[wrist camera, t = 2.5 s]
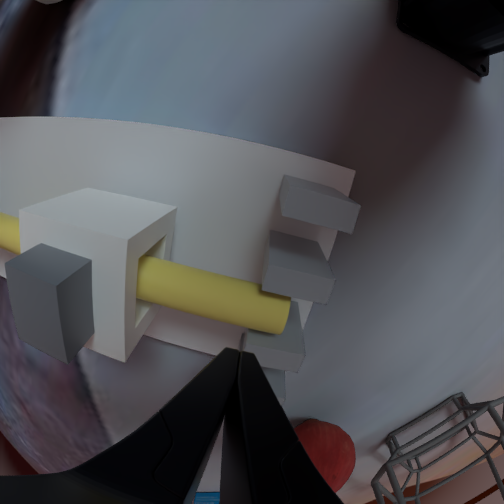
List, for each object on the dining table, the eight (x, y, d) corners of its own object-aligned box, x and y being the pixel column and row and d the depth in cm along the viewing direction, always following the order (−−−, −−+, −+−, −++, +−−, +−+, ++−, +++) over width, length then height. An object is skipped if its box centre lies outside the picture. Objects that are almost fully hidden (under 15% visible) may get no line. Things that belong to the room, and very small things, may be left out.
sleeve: (177, 206, 13) (92, 265, 6) (164, 301, 15) (104, 398, 8) (87, 187, 13) (-19, 224, 6) (84, 276, 14) (4, 345, 8)
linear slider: (350, 169, 14) (398, 183, 8) (285, 360, 18) (288, 435, 12) (-13, 118, 13) (-70, 124, 8) (-14, 259, 17) (-60, 287, 12)
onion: (358, 422, 20) (375, 503, 12) (298, 447, 21) (300, 524, 14) (327, 387, 18) (342, 485, 11) (260, 416, 20) (253, 507, 12)
